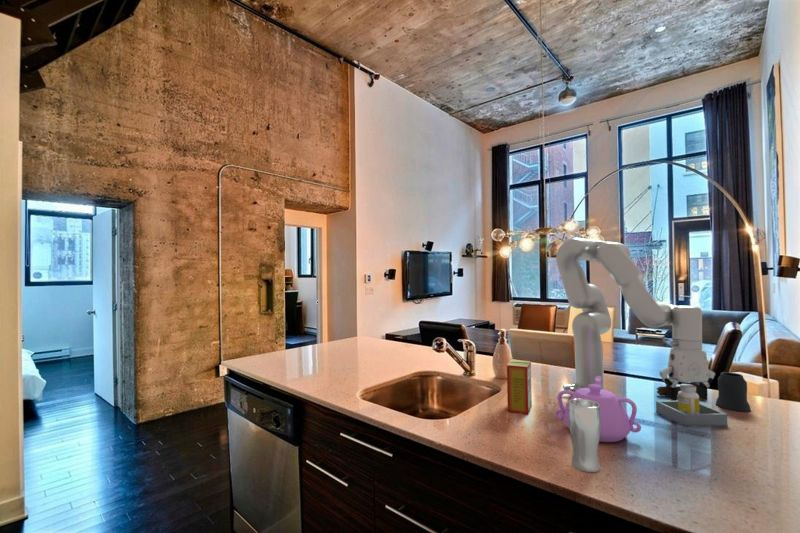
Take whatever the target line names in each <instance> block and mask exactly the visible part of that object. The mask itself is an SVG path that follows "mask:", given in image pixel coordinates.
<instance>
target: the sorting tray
mask: <svg viewBox="0 0 800 533" xmlns="http://www.w3.org/2000/svg"><path fill="white" fill-rule="evenodd" d="M699 408H700V414H685V413H683V412H681V411H679V410H678V400H658V401H657V400H656V401H655V409H656V410H655V412H656V413H657V414H659V415H661V414H662V416H663V415H664V417H665V418H667V417H668V418H667V419H669V418H670V419H669V420H671V419H672V421H673V420H674V421H673V422H675V421H676V422H675V423H677V424H680V425H681V426H683V427H685V428H699V427H701V428H702V427H703V428H704V427H728V414H727V413H725V412H723V411H720V410H718V409H715V408H712V407H710V406H708V405H705V404H703V403H700V402H699Z"/></svg>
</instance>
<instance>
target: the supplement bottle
mask: <svg viewBox="0 0 800 533" xmlns="http://www.w3.org/2000/svg"><path fill="white" fill-rule="evenodd" d="M679 386H680V389H681V391H679V392H678V395H677V401H678V410H679V411H681V412H683V413H685V414H700V408H699V403H700V398H699V395H698V394H697V393H695V391H696V386H694V384H690V383H681V384H679Z"/></svg>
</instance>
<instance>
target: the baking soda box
mask: <svg viewBox="0 0 800 533" xmlns="http://www.w3.org/2000/svg"><path fill="white" fill-rule="evenodd" d="M506 382H507V383H506V384H507V385H506V386H507V387H506V390H507V392H506V394H507V396H506V397H507V399H506V400H507V401H506V402H507V413H511V414H518V415H524V416H528V415H529V414H530V411H531V409H532V406H533V405H532V404H533V403H532V400H533V399H532V397H533V396H532V361H531V360H523V359H519V360H518V359H511V360H509V362H508V363H507V364H506Z"/></svg>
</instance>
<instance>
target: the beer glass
mask: <svg viewBox="0 0 800 533" xmlns="http://www.w3.org/2000/svg"><path fill="white" fill-rule="evenodd" d="M568 401H569V400H568ZM569 428H570V429H569ZM569 428H568V429H569V433H570V437H571V442H572V458H571V465H572V467H573V468H575V469H576V470H578V471H580V472H585V473H591V474H592V473H597V472H599V471H600V469H601V466H600V460H599V455H598V454H599V452H598V451H599V450H598V449H599V443H600V441H599V439H600V432H601V416H600V408H599V404H598V403H597V402H595V401H592V400H587V399H571V400H570V401H569Z"/></svg>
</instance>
